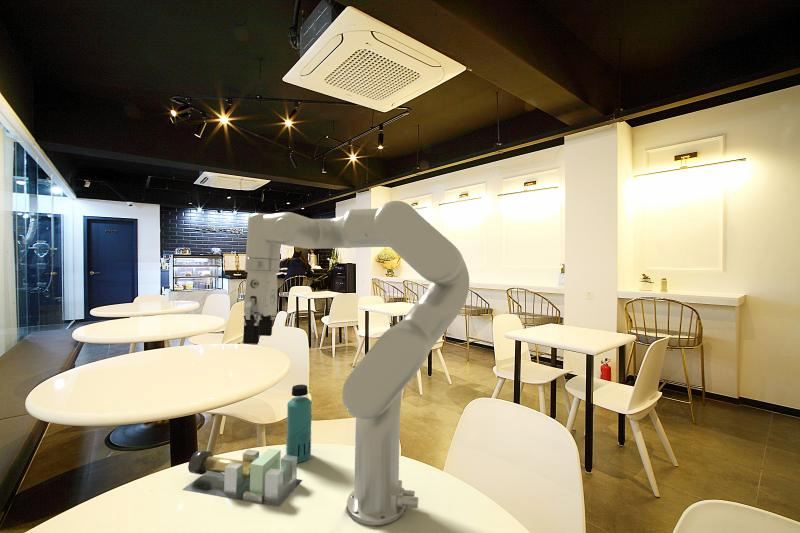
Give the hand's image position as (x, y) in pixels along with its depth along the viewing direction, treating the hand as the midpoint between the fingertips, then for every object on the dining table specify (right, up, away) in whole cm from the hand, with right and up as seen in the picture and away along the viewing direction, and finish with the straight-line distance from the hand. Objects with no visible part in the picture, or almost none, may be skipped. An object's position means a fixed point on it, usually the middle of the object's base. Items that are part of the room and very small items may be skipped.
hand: (258, 339), depth 83 cm
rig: (-2, -34, -2) cm, 34 cm away
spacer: (+3, -33, -3) cm, 33 cm away
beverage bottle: (+6, -35, +10) cm, 37 cm away
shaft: (-8, -32, -1) cm, 33 cm away
